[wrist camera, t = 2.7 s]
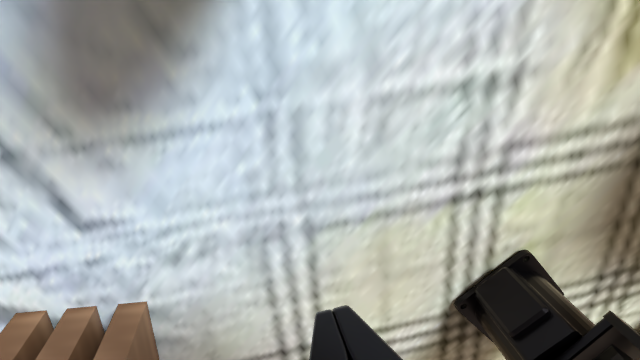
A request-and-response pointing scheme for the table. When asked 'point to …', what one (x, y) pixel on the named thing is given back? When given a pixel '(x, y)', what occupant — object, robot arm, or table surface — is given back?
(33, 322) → the domino
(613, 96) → the table surface
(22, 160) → the table surface
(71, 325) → the domino
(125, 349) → the domino
